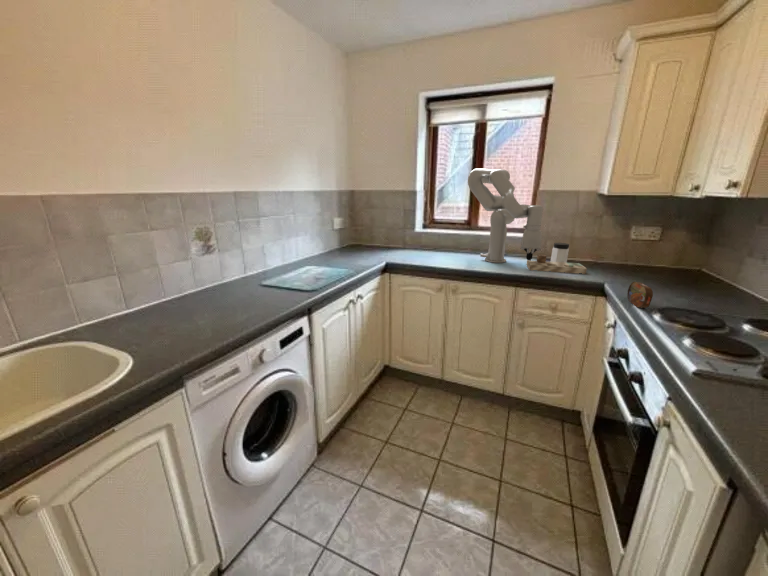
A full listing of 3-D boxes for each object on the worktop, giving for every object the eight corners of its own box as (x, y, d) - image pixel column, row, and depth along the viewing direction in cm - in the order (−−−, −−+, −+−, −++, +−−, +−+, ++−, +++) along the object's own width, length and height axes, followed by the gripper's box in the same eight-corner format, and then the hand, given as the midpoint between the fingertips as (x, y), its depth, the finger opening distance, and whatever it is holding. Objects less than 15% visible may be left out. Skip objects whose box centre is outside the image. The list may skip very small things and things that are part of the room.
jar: (562, 265, 195) (566, 245, 192) (548, 263, 201) (551, 243, 197) (568, 263, 201) (571, 243, 198) (554, 261, 207) (557, 242, 203)
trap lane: (529, 270, 183) (530, 264, 182) (526, 265, 195) (526, 260, 194) (585, 273, 176) (586, 268, 175) (578, 268, 188) (579, 263, 187)
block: (537, 262, 187) (538, 255, 186) (536, 261, 191) (537, 254, 190) (545, 263, 186) (546, 256, 185) (543, 261, 190) (545, 254, 189)
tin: (625, 298, 137) (629, 278, 134) (634, 299, 136) (638, 279, 134) (640, 310, 123) (646, 289, 121) (650, 311, 122) (656, 290, 120)
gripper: (519, 228, 183) (515, 260, 188) (549, 229, 179) (544, 262, 185) (518, 226, 190) (514, 258, 195) (546, 227, 186) (541, 259, 192)
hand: (528, 259), depth 190 cm, fingers closed
